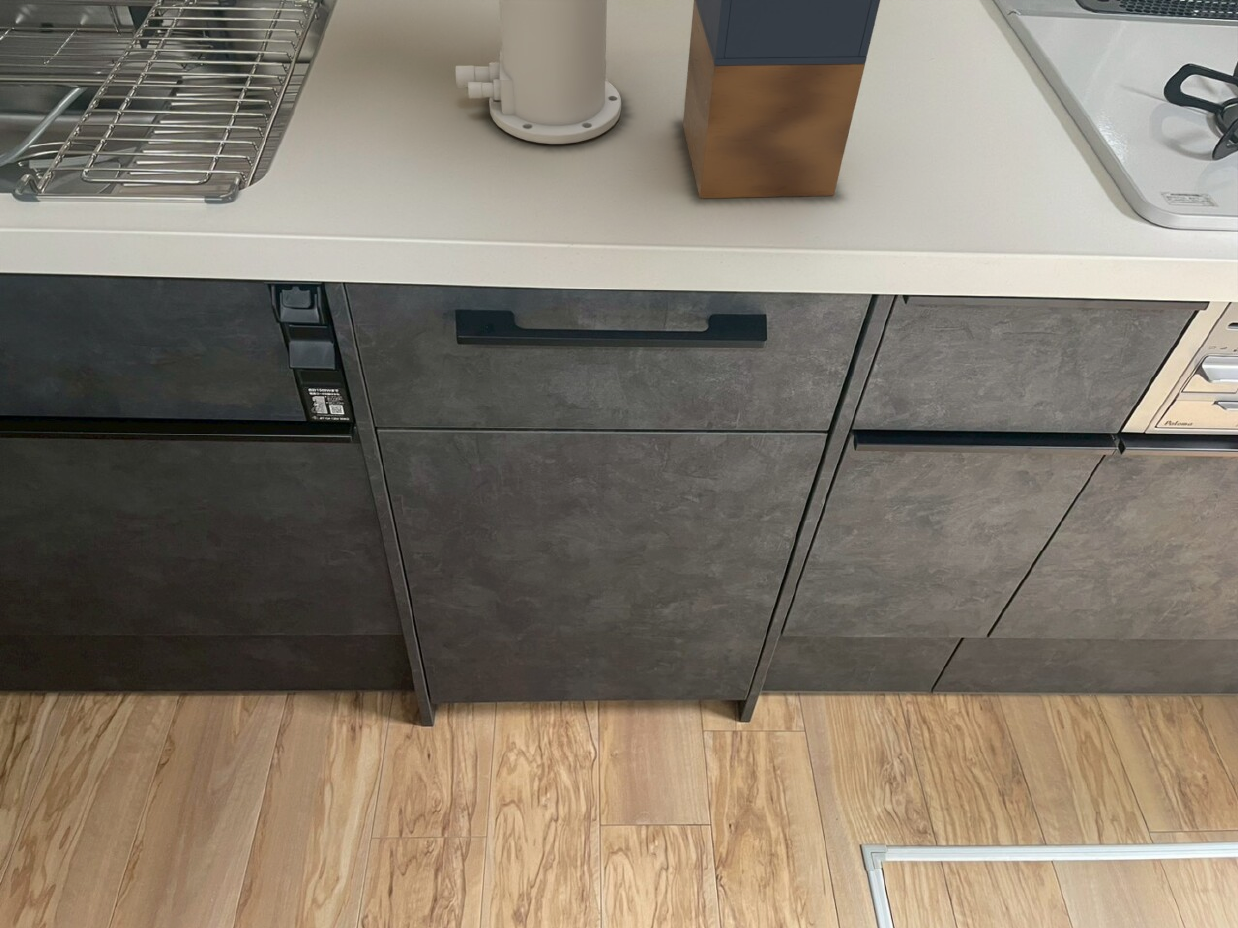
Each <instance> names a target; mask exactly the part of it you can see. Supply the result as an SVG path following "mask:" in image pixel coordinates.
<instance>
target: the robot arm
mask: <svg viewBox="0 0 1238 928" xmlns="http://www.w3.org/2000/svg"><path fill="white" fill-rule="evenodd" d="M498 7H499V8H498V10H499V23H500V25H499V26H500V36H501V37H500V41H501V50H500V51H499V61H492V62H489V63H488V64H489V65H487V66H482V65H481V66H478V65H477V66H475V65H455V83H456V88H457V89H459V88H461V89H462V88H467V93H468V98H469V99H483V98H489V100H488V101H489V102H488V103H489V113H490V116H491V118H492V121H493V122H494V123H495V124H496V125H497V127H499V128H500V129H502V130H503V131H504V132H505V133H507V134H509V135H511V136H513V137H515V138H518V139H521V140H524V141H527V142H532V143H536V144H546V145H566V144H567V145H568V144H574V143H580V142H583V141H588V140H591V139H593V138H596V137H599V136H600V135H602V134H604V133H606V132H607V131H609V130H610V129H611V128H613V127H614V126H615V125H616V123H617V122H618V120H619V119H620V116H621V113H622V99H621V94H620V93H619V91H618V90H617V88H616V87H615V86H614V85H613V84H612V83H610V81H608V80H606V67H607V66H606V65H607V63H606V62H607V61H606V59H607V16H608V15H607V13H608V12H607V9H608V0H498Z"/></svg>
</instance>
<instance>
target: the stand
mask: <svg viewBox="0 0 1238 928" xmlns="http://www.w3.org/2000/svg"><path fill="white" fill-rule="evenodd" d="M690 29H691V30H690V39H689V49H688V62H687V73H686V85H685V86H686V87H685V96H684V105H683V106H684V108H683V116H682V118H683V119H682V128H683V132H684V136H685V141H686V145H687V149H688V154H689V158H690V162H691V166H692V170H693V175H694V178H695V184H696V189H697V192H698V193H697V194H698V197H699V199H738V198H739V199H740V198H743V199H744V198H775V197H776V198H780V197H781V198H783V197H784V198H785V197H788V198H789V197H826V196H828V197H829V196H835V193H836V188H837V184H838V180H839V176H840V171H841V167H842V163H843V159H844V155H845V151H846V146H847V144H848V143H847V142H848V138H849V133H850V130H851V125H852V121H853V117H854V112H855V108H856V105H857V100H858V96H859V91H860V88H861V83H862V79H863V75H864V71H865V67H866V63H865V64H811V65H724V66H715V65H714V61H713V58H712V55H711V51H710V48H709V45H708V41H707V38H706V34H705V31H704V28H703V24H702V21H701V18H700V14H699V11H698V8H697V4H696V1H695V0H693V5H692V18H691V27H690Z"/></svg>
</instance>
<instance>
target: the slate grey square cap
mask: <svg viewBox="0 0 1238 928" xmlns="http://www.w3.org/2000/svg"><path fill="white" fill-rule="evenodd" d="M695 1H696V4H697V8H698V11H699V14H700V18H701V21H702V24H703V28H704V31H705V34H706V38H707V41H708V45H709V48H710V51H711V55H712V58H713V61H714V65H715V66H724V65H811V64H865V65H866V62H867V57H868V53H869V49H870V45H871V41H872V37H873V33H874V29H875V24H876V20H877V15H878V11H879V9H880V8H879V7H880V3H881V0H695Z"/></svg>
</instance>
